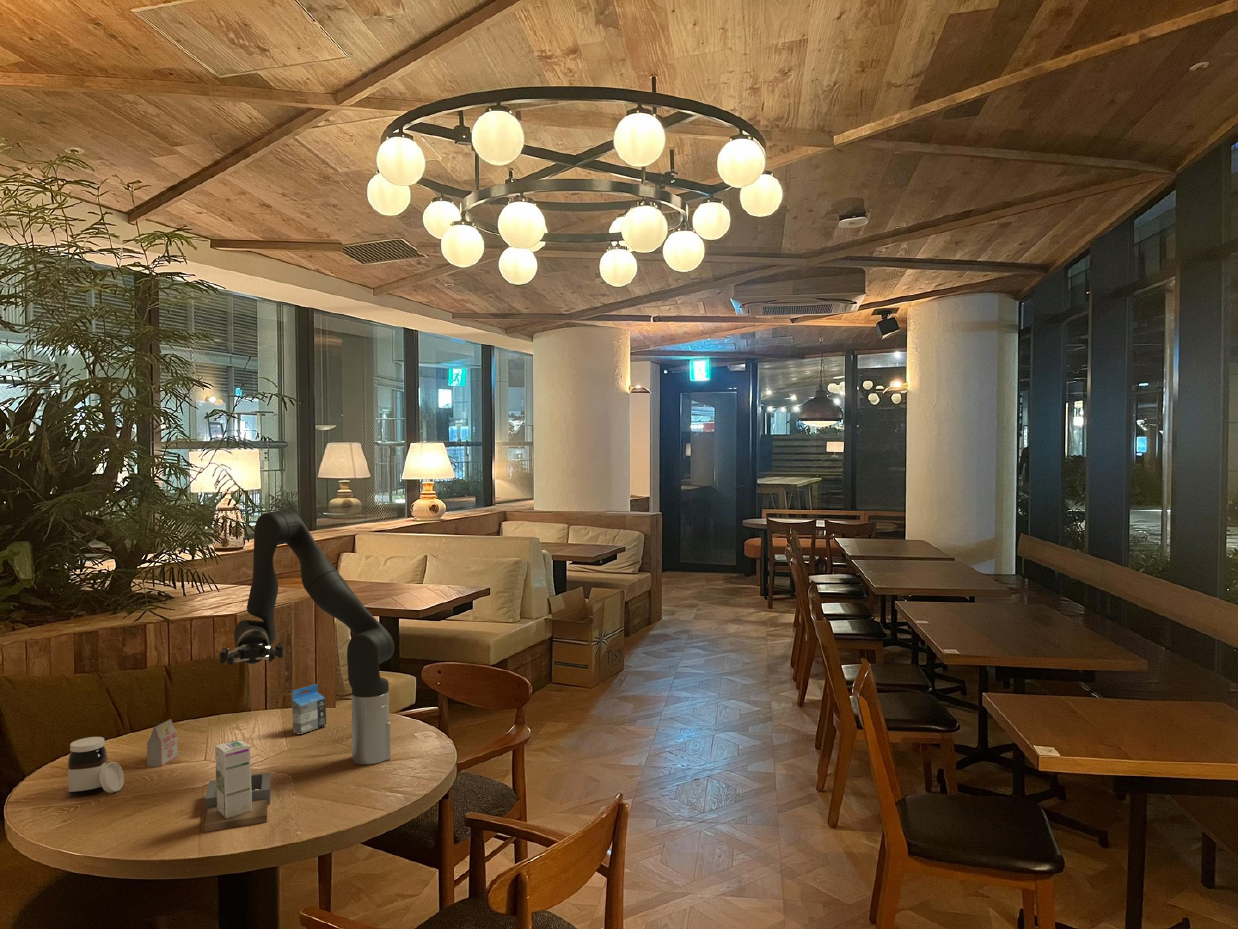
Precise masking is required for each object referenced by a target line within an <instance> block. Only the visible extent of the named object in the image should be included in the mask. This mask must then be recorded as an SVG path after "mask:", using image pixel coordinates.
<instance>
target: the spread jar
mask: <svg viewBox="0 0 1238 929" xmlns="http://www.w3.org/2000/svg"><path fill="white" fill-rule="evenodd" d="M69 746H70V749H69V751H70V753H69V755H68V759H67V776H68V777H67V790H68V795H69V796H73V797H85V796H87V795H88V796H92V795H95V794H98V793H100V792H102V791H105V792H106V793H108V794H113V793H115V792H119V791H120V790H121V789H122V788H123V787H124V784H125V775H124V774H125V773H124V771H123V768H122V767H121V765H120V764H119V763H118V762H115V761H111V762H108V757H107V756H108V755H107V754H108V753H107V748H106V747H105V738H104V737H102V736H89V737H84V738H80V739H76V740H74V741H72V742H71V743H70V744H69Z"/></svg>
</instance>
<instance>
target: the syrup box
mask: <svg viewBox="0 0 1238 929" xmlns="http://www.w3.org/2000/svg"><path fill="white" fill-rule="evenodd" d="M214 750H215V752H214V753H215V780H216V799H217V811H218V812H219V813H220V814H221V815H222V816H223V817H224V818H230V817H234V816H238V815H241V814H244V813H247V812H250V811H252V793H251V775H252V765H251V763H252V762H251V761H252V760H251V746H250V745H249V744H248V743H246V742H245V741H243V740H242V739H237V740H231V741H228V742H224V743H221V744H218V745H215V746H214Z"/></svg>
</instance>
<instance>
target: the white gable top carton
mask: <svg viewBox="0 0 1238 929" xmlns="http://www.w3.org/2000/svg"><path fill="white" fill-rule="evenodd" d="M146 751H147V753H146V757H147V758H146V759H147V760H146V762H147V767H152V768H153V767H156V768H158V767H159V768H160V767H163V766H164V765H167V764H169V763H170V762H171V761H173V760H176V759H177V758H178V756H179V755H178V733H177V731H176V729H175V726H174V724H173V720H172V719H171V718H170V719H168V720H166V721H163V722H162V723H160V724H157V725H156V726H154V727H153V728H152V731H151V735H150V736H149V739H148V740H147V742H146Z"/></svg>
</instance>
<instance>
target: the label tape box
mask: <svg viewBox="0 0 1238 929" xmlns="http://www.w3.org/2000/svg"><path fill="white" fill-rule="evenodd" d="M318 687H319V683H314V684H312V685H311V684H310V685H309V686H304V687H300V688H297V689H294V690H292V692H291V693H292V694H291V710H292V711H291V712H292V713H291V714H292V733H293V732H295V733H300V734H303V733H305V732H307V731H309V730H314V729H317V728H320V727H322V726H325V725H326V726H327V704H326V703H327V702H326V698H325V697H324V696H323V695H322V694H321V693H319V692H318ZM305 691H308V692H305ZM303 692H304V693H303ZM320 729H321V728H320ZM317 730H318V729H317ZM314 731H315V730H314ZM303 735H304V734H303Z"/></svg>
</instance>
